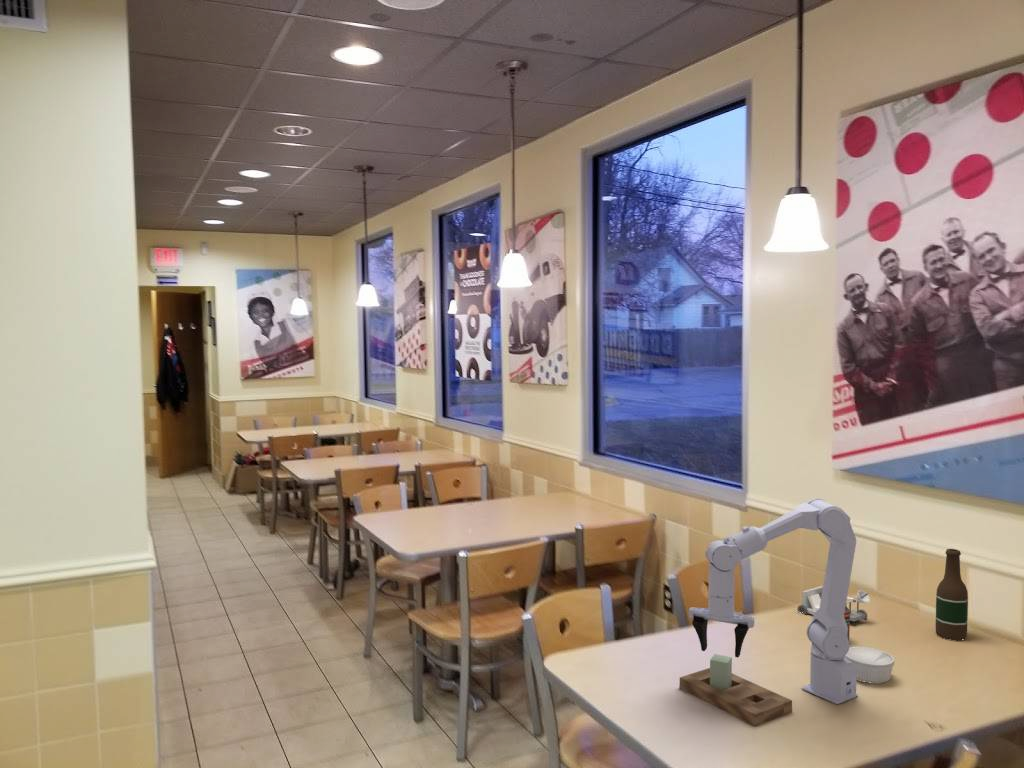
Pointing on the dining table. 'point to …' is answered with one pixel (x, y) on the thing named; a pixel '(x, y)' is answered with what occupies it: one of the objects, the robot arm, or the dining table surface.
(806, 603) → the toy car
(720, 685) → the peg
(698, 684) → the socket board
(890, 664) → the ramekin
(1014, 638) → the dining table surface
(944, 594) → the beer bottle
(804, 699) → the dining table surface
